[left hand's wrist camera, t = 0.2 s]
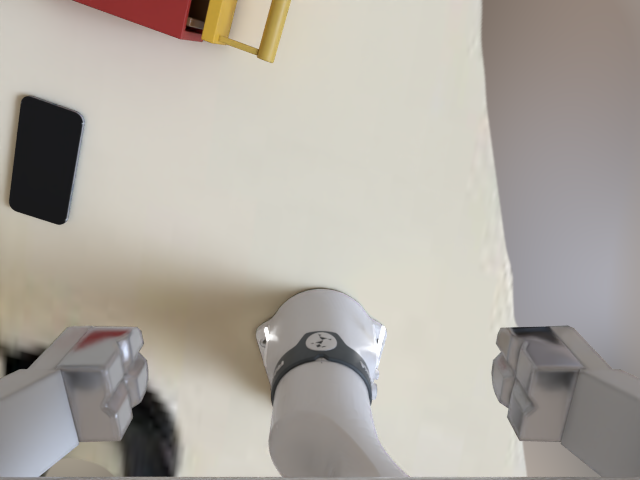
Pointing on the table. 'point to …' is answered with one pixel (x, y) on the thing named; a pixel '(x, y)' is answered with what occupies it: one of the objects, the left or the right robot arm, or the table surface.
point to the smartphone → (45, 160)
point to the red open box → (152, 15)
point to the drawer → (216, 18)
